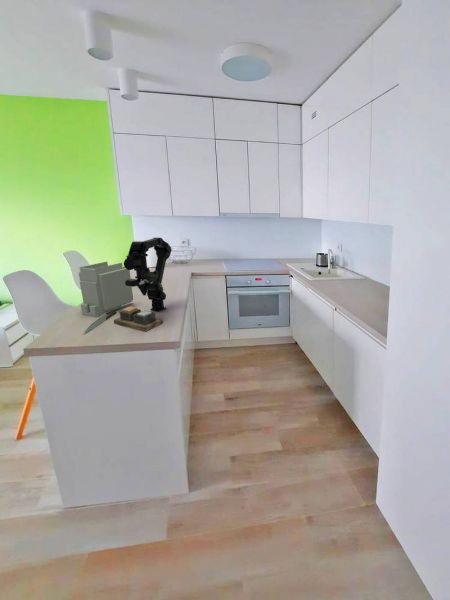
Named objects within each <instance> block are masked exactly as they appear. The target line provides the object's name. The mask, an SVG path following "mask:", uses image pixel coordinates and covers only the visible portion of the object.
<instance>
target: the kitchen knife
mask: <svg viewBox="0 0 450 600" xmlns="http://www.w3.org/2000/svg"><path fill="white" fill-rule="evenodd" d="M107 314H108V315H107ZM116 314H117V310H114V311H111V312H110V313H106V314H103V315H101V316H98V318H96V319H95V320H93V321H92V322H91V323H89V325H87V326H86V328H85V329H84V331H83V332H82V336H84V335H85V334H86V333H88V332H89V331H91V330H92V329H94V328H95V327H97V326H99V325H101V324H102V323H104V322H105V321H107V320H109V319H111V318H112V317H114V316H115V315H116Z"/></svg>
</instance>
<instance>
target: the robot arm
mask: <svg viewBox="0 0 450 600" xmlns="http://www.w3.org/2000/svg"><path fill="white" fill-rule="evenodd" d="M151 248H153V249H154V251H155V255H156V264H155V269H154V270H153V271H150V267H148V263H147V262H148V261H147V257H149V254H148V253H147V252H148V251H150V250H149V249H151ZM171 253H172V247H171V245H170V244H169V243H168V242H167V241H165V240H164V239H163V237H152V238H149V239H146V240H141V241H140V240H138V241H137V240H135V241H132V242H131V244H130V247H129V251H128V253H127V255H126V256H125V257H126V258H125V259H124V261H123V267H124V266H125V268H126V269H127V270H130V271H132V270H134V271H136V272H135V274H136V276H134V278H131V279H128V280H126V281H125V285H126V286H131V287H132V288H134V287H137V288H138V290H139V291H140V293H141V295H142V296H144V297H145V296H147V297H148V300H150V301H151V308H150V310H151V311H153V312H161V311H164V310H165V309H167V307H166V306H165V304H164V301H165V300H166V297H167V294H166V293H165V292H164V287H163V284H162V282H163V278H164V272H165V269H166V268H165V267H166V263H167V260H168V259H169V258H171Z"/></svg>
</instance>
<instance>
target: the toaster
mask: <svg viewBox="0 0 450 600" xmlns="http://www.w3.org/2000/svg"><path fill="white" fill-rule="evenodd" d="M78 278H79V285H80V290H81V292H80V293H81V297H82V302H83V303H82V304H80V308H81V315H84V316H89V317H94V318H96V317H100V316H102V315H103V314H110V313H112V312H114V311H117V310H118V309H121V308H123V306H124V305H126V304H130V303H131V302H133V301H134V295H133V294H134V293H133V287H131V286H126V285H125V281H126V280H128V279H132V278H131V270H127V269H126V268H125V266H124V265H123V262H118V263H113V264H110V265H109V264H108V261H103V262H98V263H94V264H89V265H84V266H79V272H78Z"/></svg>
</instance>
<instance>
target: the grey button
mask: <svg viewBox="0 0 450 600" xmlns="http://www.w3.org/2000/svg"><path fill="white" fill-rule="evenodd" d="M149 314H152V311H149V312H148V310H145V311H144V310H143V311H142V310H141V312H140V313H137V315H139V316H143V317H145V316H147V315H149Z"/></svg>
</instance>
